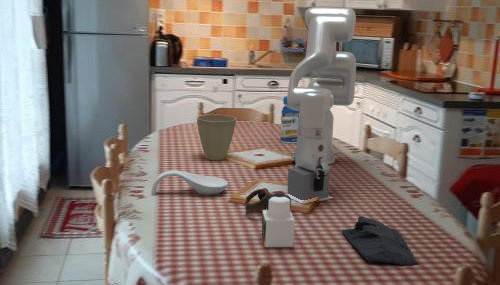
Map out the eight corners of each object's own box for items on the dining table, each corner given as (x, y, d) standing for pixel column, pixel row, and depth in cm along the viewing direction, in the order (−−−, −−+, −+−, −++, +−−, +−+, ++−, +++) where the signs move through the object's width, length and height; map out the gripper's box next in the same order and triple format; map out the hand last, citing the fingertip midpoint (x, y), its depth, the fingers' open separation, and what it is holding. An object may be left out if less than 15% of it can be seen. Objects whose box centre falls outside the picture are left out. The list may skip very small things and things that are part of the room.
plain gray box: (312, 190, 180) (313, 164, 178) (328, 197, 174) (329, 170, 172) (287, 195, 175) (288, 168, 173) (302, 202, 169) (304, 174, 167)
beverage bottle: (302, 141, 250) (304, 96, 245) (293, 144, 243) (295, 99, 238) (285, 138, 254) (287, 95, 250) (276, 142, 247) (278, 97, 243)
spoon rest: (225, 186, 183) (225, 165, 182) (230, 198, 172) (230, 175, 170) (151, 188, 179) (151, 166, 178) (151, 200, 168) (151, 177, 166)
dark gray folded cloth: (356, 267, 127) (357, 248, 126) (339, 231, 149) (340, 214, 148) (423, 269, 128) (425, 249, 127) (397, 232, 149) (398, 215, 148)
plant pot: (212, 165, 207) (212, 122, 203) (189, 157, 218) (189, 116, 214) (243, 159, 217) (244, 118, 213) (219, 151, 228) (219, 112, 224)
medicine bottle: (261, 236, 142) (262, 191, 140) (289, 236, 143) (291, 191, 140) (264, 247, 136) (266, 200, 133) (293, 247, 136) (295, 200, 133)
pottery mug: (284, 221, 154) (271, 199, 151) (253, 233, 156) (240, 211, 153) (282, 197, 165) (270, 175, 162) (253, 209, 167) (241, 187, 164)
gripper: (339, 136, 165) (336, 192, 169) (303, 126, 179) (300, 177, 183) (320, 139, 161) (316, 196, 165) (284, 128, 175) (282, 180, 179)
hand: (308, 186), depth 174 cm, fingers open, 9 cm apart
